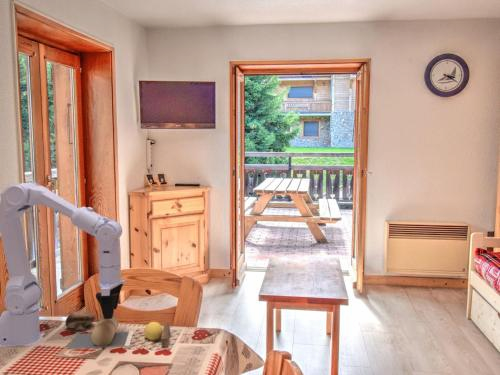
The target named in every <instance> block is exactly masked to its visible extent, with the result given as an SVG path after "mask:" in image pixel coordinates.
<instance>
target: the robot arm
mask: <svg viewBox="0 0 500 375" xmlns="http://www.w3.org/2000/svg"><path fill="white" fill-rule="evenodd" d="M33 206H44V207H47V208H49V209H51V210H52V211H55V212H58V213H59V214H60V215H61V214H62V215H64V216H65V217H67V218H69V219H70V220H71V224H72V225H73V226H74V227H76V228H78V229H80V230H82V231H84V232H86V233H87V234H89V235H91V236H92V237H94V238H95V240H96V242H97V243H98V287H99V288H100V291H101V292H96V294H95V298H96V300H97V302H98V304H99V307H100V309H101V313H102V316H103V317H104V319H112V317H113V316H114V312H115V311H114V310H117V309H118V304H119V298H120V293H121V290H122V288H123V285H124V284H125V283H126V279H122V277H121V276H122V273H121V272H122V270H121V267H122V266H121V264H122V263H121V239H120V238H121V237H122V234H123V228H122V225H121V224H120V223H119V222H118V221H117V220H116V219H109V217H108V216H102V215H101V214H99V213H98V212H96V211H94V208H93V207H90V206H88V207H86V206H82V207H77V206H75V205H73V204H72V203H71V202H70V201H67V200H66V199H65V198H63V197H61V196H60V195H58V194H56V193H54V192H53V191H51V190H50V189H48V188H47V187H46V186H43V185H40V184H39V183H37V182H34V181H27V182H23V183H22V182H21V183H12V184H11V183H10V184H9V185H8V186H6V188H5V189H3V191H2V192H0V238H1V243H2V248H3V253H4V258H5V262H6V268H7V273H8V281H7V283H6V286H5V288H4V289H5V297H4V301H3V302H4V303H3V304H4V306H5V309H6V310H4V311H2V313H1V314H0V347H15V346H16V347H17V346H35V345H37V344H38V343H39V341H40V340H41V339H42V338H43V336H44V335H45V332H40V306H39V302H40V301H41V299H42V298H43V293H44V292H43V287H42V286H41V285H40V284H39V282H38V279H37V278H38V277H37V276H35V274H33V273H32V272H31V266H30V261H29V255H28V251H27V250H28V249H27V245H26V241H25V235H24V231H23V230H24V229H23V226H22V220H21V217H22V216H23V215H24V214H26V211H28V209H29V208H31V207H33Z"/></svg>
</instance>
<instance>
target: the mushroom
mask: <svg viewBox="0 0 500 375" xmlns="http://www.w3.org/2000/svg"><path fill="white" fill-rule="evenodd" d="M95 318H96V317H95V315H94V314H93V313H91V312H90V311H86V310H85V311H84V310H83V311H82V310H78V311H74V312H71V313H70V314H69V315H68V316H67V317H66V319H65V327H66V328H68V329H74V330H75V331H82V332H85V331H86V327H87V326H89V325H91V324H93V323H94V321H95Z"/></svg>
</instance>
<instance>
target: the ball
mask: <svg viewBox="0 0 500 375" xmlns="http://www.w3.org/2000/svg"><path fill="white" fill-rule="evenodd" d="M143 330H144V332H143V333H144V336H145V338H146V339H147V340H150V341H157V340H159V339H160V338H162V334H163V326H162V325H161V324H160V323H159V322H157V321H151V322H149V323H147V324H146V326H145V327H144V329H143Z"/></svg>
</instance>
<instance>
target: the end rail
mask: <svg viewBox="0 0 500 375" xmlns="http://www.w3.org/2000/svg"><path fill="white" fill-rule="evenodd" d="M170 323H171V322H164V323H163V326H162V329H163V332H162V335H161V348H162V349H166V348H169V340H170V332H171V331H170V329H171V327H170V326H171V324H170Z"/></svg>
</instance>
